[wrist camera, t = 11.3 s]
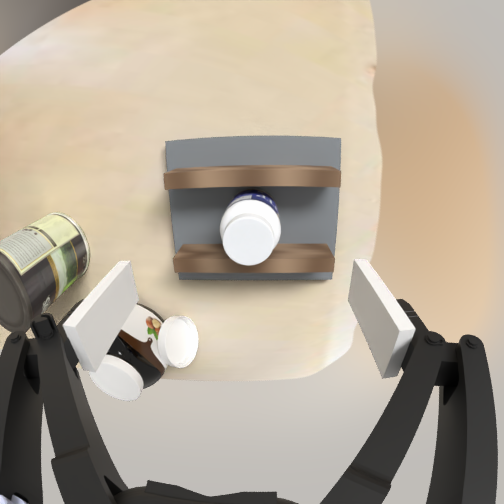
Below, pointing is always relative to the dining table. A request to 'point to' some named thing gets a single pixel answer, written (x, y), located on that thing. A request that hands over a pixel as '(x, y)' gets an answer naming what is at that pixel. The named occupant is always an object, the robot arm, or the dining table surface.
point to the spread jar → (145, 352)
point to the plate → (286, 197)
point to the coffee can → (39, 267)
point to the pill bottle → (250, 227)
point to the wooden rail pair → (282, 255)
